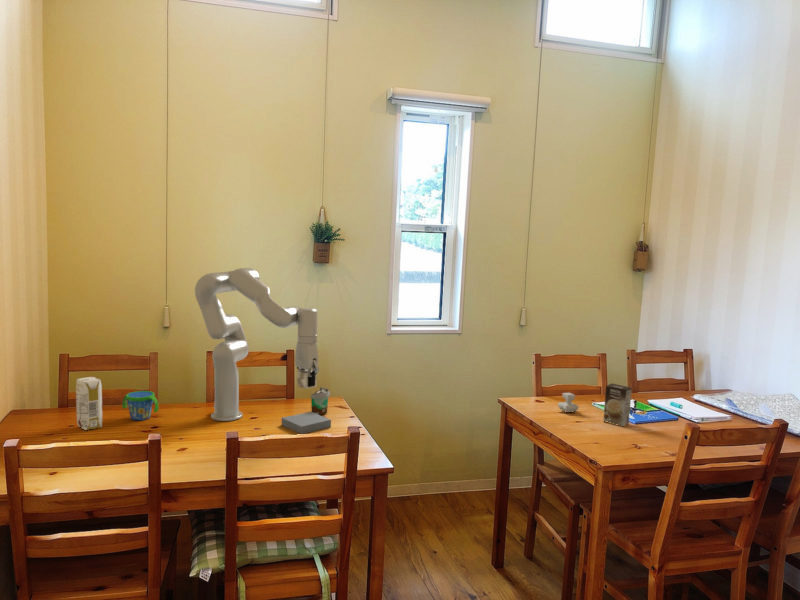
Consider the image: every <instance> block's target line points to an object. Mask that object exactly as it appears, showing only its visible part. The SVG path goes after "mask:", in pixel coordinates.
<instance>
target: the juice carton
mask: <svg viewBox="0 0 800 600" xmlns="http://www.w3.org/2000/svg"><path fill="white" fill-rule="evenodd" d="M102 385H103V384H102V381H101V379H99V378H97V377H95V376H88V377H87V376H86V377H81V378H76V384H75V405H76V410H75V411H76V423H77V427H78V426H79V427H81V428H82V429H84V430H88V431H90V430H89V429H93V430H96V429H95V428H98V429H100V428H99V427H101V428H102V427H103V388H102V387H103V386H102ZM79 427H78V428H79ZM81 428H80V429H81ZM82 429H81V430H82ZM84 430H83V431H84Z"/></svg>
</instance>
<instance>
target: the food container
mask: <svg viewBox="0 0 800 600" xmlns="http://www.w3.org/2000/svg"><path fill="white" fill-rule="evenodd" d="M330 396H331V393H330V389H328V388H326V387H322V386H320V387H319V390H316V391H315V392H314V393H310V400H311V401H310V402H311V407H310V408H311V412H313V413H315V414H318V415H320V416H321V415H323V416H326V415H327V414H328V407H329V406H328V405H329V397H330ZM326 413H327V414H326ZM325 414H326V415H325Z"/></svg>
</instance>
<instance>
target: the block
mask: <svg viewBox="0 0 800 600" xmlns="http://www.w3.org/2000/svg"><path fill="white" fill-rule="evenodd" d="M312 371H313V370H311V372H312ZM317 376H318V373H317V374H316V376H315V386H312V387H308V377H309V374H308V370H300V371H298V370H297V371H296V386H297V387H299V388H303V389H311V388H315V387H317V384H318V383H317V381H318V379H317V378H318V377H317Z"/></svg>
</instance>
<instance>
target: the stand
mask: <svg viewBox="0 0 800 600" xmlns="http://www.w3.org/2000/svg"><path fill="white" fill-rule="evenodd" d="M282 425H283V427H285V428H288V429H289V430H292V431H293V432H295V433H299V434H300V435H304V434H307V433H313V432H315V431H320V430H325V429H328V428H329V429H330V428H331V427H332V420H331V419H330V418H328V417H326V416H324V415H323V416H320V415H318V414H315V413H313V412H312V411H307V412H302V413H298V414H294V415H288V416H284V417H283V416H282V417H281V426H282Z"/></svg>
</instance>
